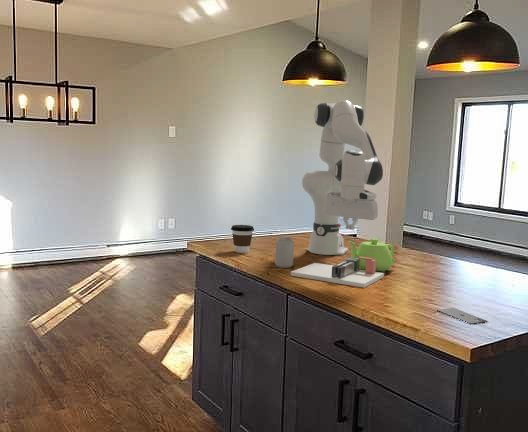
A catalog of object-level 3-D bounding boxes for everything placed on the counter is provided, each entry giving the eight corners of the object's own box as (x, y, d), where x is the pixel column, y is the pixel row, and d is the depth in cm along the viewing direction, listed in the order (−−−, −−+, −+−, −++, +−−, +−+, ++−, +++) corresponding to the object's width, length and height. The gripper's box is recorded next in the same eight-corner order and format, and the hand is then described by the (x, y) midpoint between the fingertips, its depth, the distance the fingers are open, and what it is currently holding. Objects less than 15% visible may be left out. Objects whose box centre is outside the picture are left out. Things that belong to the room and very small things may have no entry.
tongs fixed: (348, 268, 229) (348, 257, 228) (359, 270, 226) (359, 258, 226) (329, 276, 213) (330, 264, 212) (341, 278, 210) (342, 266, 210)
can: (291, 269, 231) (292, 240, 230) (273, 267, 233) (274, 238, 231) (294, 265, 238) (295, 237, 237) (276, 264, 240) (277, 236, 238)
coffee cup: (258, 252, 263) (258, 227, 262) (238, 254, 257) (238, 228, 256) (245, 248, 272) (246, 224, 271) (225, 250, 266) (226, 225, 265)
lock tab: (359, 270, 226) (360, 256, 225) (375, 272, 223) (376, 258, 222) (357, 271, 224) (357, 257, 223) (372, 273, 220) (373, 259, 220)
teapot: (353, 274, 225) (355, 242, 224) (338, 266, 240) (340, 236, 238) (402, 273, 231) (404, 241, 230) (385, 265, 246) (387, 235, 244)
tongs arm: (344, 270, 224) (345, 260, 224) (348, 270, 224) (348, 261, 223) (331, 276, 212) (332, 266, 212) (335, 277, 211) (335, 267, 211)
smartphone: (453, 307, 182) (489, 320, 168) (453, 309, 182) (489, 323, 168) (435, 309, 178) (470, 323, 165) (435, 311, 179) (470, 326, 165)
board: (314, 266, 238) (315, 262, 238) (383, 276, 223) (384, 273, 223) (290, 275, 219) (290, 271, 219) (364, 287, 204) (364, 283, 204)
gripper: (323, 191, 217) (321, 227, 219) (374, 195, 207) (371, 233, 208) (330, 190, 223) (328, 225, 224) (380, 195, 212) (378, 231, 214)
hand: (350, 229), depth 216 cm, fingers closed
